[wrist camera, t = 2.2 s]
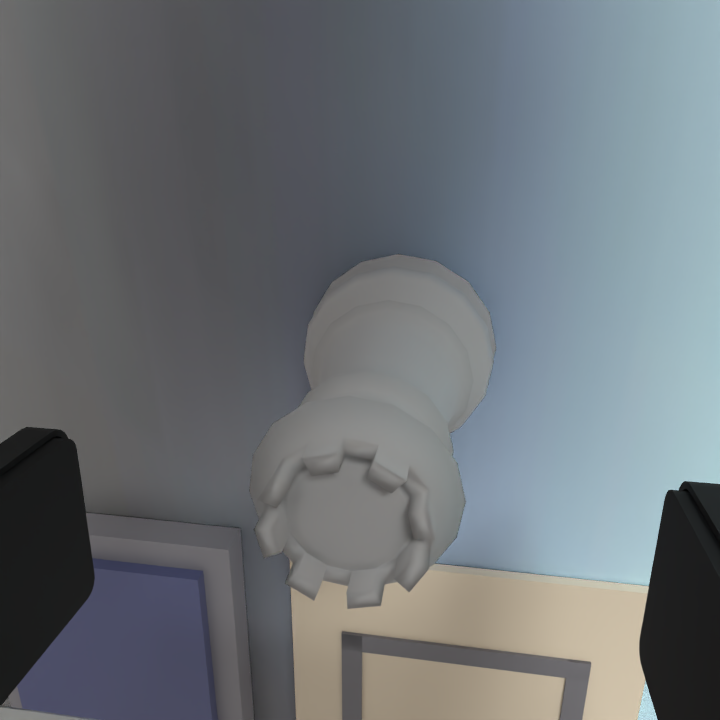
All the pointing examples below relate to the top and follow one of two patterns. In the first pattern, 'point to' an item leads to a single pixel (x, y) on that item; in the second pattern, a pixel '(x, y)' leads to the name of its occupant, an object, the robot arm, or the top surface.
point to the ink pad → (152, 629)
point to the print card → (471, 649)
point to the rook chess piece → (375, 430)
